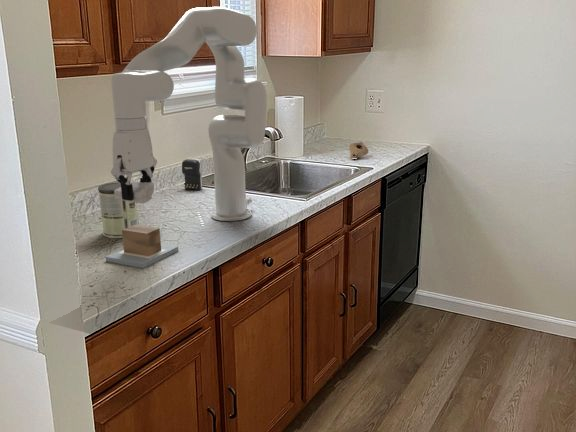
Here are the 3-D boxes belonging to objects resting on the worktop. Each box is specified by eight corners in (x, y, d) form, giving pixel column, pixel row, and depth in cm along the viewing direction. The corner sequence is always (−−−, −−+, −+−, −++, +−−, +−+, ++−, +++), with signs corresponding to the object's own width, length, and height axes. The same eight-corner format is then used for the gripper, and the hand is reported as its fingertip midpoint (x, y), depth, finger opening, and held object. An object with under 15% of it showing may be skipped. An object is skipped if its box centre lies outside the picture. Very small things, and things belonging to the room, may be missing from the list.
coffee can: (108, 228, 179) (103, 182, 175) (142, 227, 179) (138, 181, 175) (98, 239, 169) (93, 190, 165) (135, 238, 169) (131, 189, 166)
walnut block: (137, 246, 158) (135, 224, 157) (161, 250, 155) (159, 228, 153) (124, 252, 154) (121, 229, 152) (148, 256, 151) (146, 233, 149)
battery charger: (181, 190, 225) (179, 159, 222) (187, 187, 228) (185, 158, 225) (198, 191, 222) (196, 161, 219) (203, 189, 226) (201, 159, 222)
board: (142, 244, 163) (142, 240, 163) (178, 250, 158) (178, 246, 158) (106, 261, 151) (105, 256, 151) (143, 268, 146) (142, 263, 146)
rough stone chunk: (119, 212, 152) (108, 192, 150) (135, 200, 157) (124, 181, 155) (146, 205, 147) (134, 185, 145) (161, 193, 151) (150, 173, 149)
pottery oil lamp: (342, 159, 277) (343, 144, 275) (353, 155, 287) (353, 140, 285) (360, 161, 273) (360, 145, 271) (370, 156, 283) (370, 142, 281)
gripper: (142, 120, 155) (148, 188, 159) (93, 128, 140) (101, 203, 145) (166, 121, 151) (171, 190, 156) (118, 130, 136) (125, 206, 141)
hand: (137, 196), depth 150 cm, fingers closed on rough stone chunk, 6 cm apart
